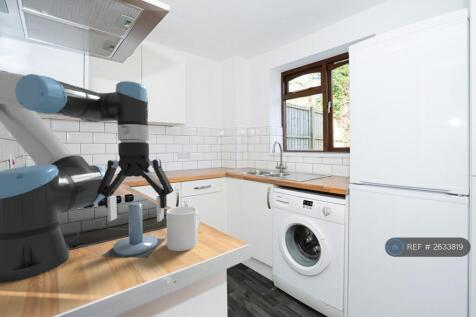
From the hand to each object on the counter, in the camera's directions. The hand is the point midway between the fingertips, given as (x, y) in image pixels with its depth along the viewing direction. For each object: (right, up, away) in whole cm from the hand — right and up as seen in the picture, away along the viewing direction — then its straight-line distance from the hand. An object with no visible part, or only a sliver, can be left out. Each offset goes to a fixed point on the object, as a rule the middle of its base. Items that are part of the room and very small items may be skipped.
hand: (136, 219), depth 63 cm
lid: (0, -7, 0) cm, 7 cm away
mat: (0, -8, 0) cm, 8 cm away
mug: (+13, -8, +3) cm, 16 cm away
